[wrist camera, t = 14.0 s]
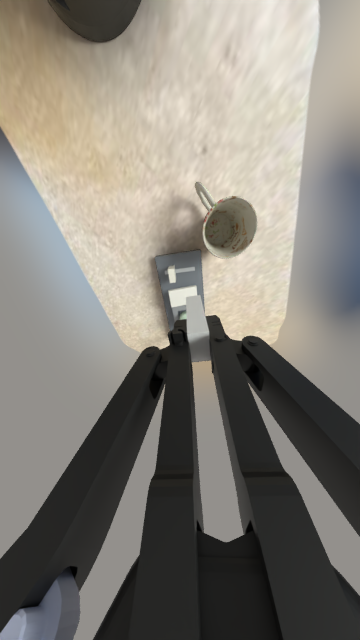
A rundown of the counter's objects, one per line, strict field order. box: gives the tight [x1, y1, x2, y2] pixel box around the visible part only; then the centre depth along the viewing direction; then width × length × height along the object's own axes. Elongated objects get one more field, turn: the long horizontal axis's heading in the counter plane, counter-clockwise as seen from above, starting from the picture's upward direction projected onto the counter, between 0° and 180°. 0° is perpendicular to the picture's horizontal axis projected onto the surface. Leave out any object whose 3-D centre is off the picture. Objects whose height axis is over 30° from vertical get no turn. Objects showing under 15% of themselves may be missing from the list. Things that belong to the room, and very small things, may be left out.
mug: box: [195, 182, 257, 259], centre depth 27 cm, size 8×13×10 cm, turn 41°
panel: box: [155, 250, 205, 331], centre depth 39 cm, size 22×10×4 cm, turn 8°
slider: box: [168, 265, 176, 283], centre depth 33 cm, size 3×1×4 cm, turn 8°
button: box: [180, 311, 187, 320], centre depth 37 cm, size 3×3×3 cm
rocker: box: [168, 285, 197, 308], centre depth 36 cm, size 4×6×1 cm, turn 98°
